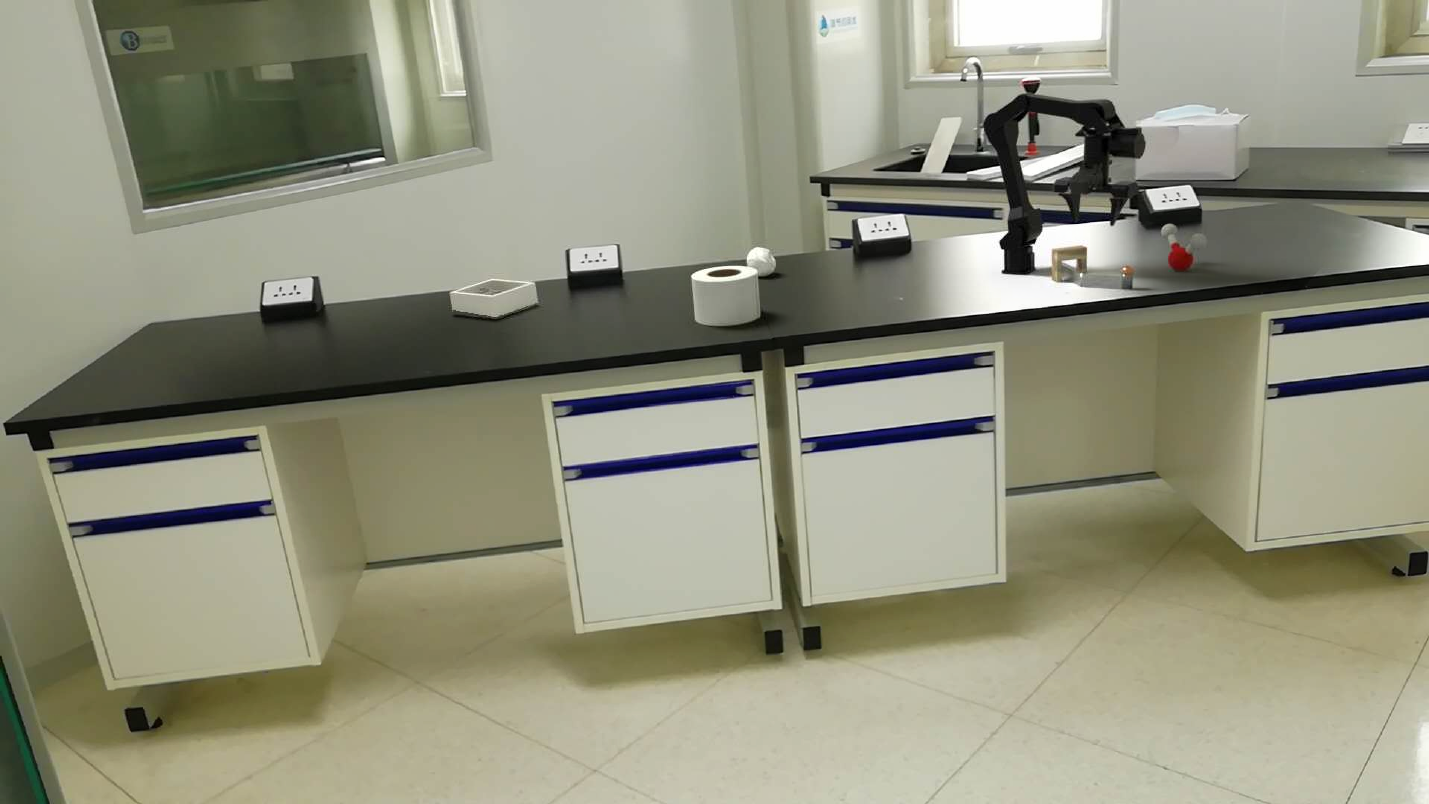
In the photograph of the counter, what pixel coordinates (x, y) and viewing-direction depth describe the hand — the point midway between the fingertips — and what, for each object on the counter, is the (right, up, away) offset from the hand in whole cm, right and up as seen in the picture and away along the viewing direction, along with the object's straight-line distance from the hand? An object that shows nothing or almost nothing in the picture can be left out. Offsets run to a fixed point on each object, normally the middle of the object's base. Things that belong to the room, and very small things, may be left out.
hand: (1093, 224), depth 271 cm
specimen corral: (-145, -18, +29) cm, 149 cm away
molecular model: (+22, -11, +4) cm, 25 cm away
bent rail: (0, -13, +1) cm, 13 cm away
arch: (-4, -12, +6) cm, 14 cm away
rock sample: (-145, -18, +29) cm, 149 cm away
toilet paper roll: (-85, -22, +1) cm, 88 cm away
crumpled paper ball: (-76, -8, +39) cm, 86 cm away
